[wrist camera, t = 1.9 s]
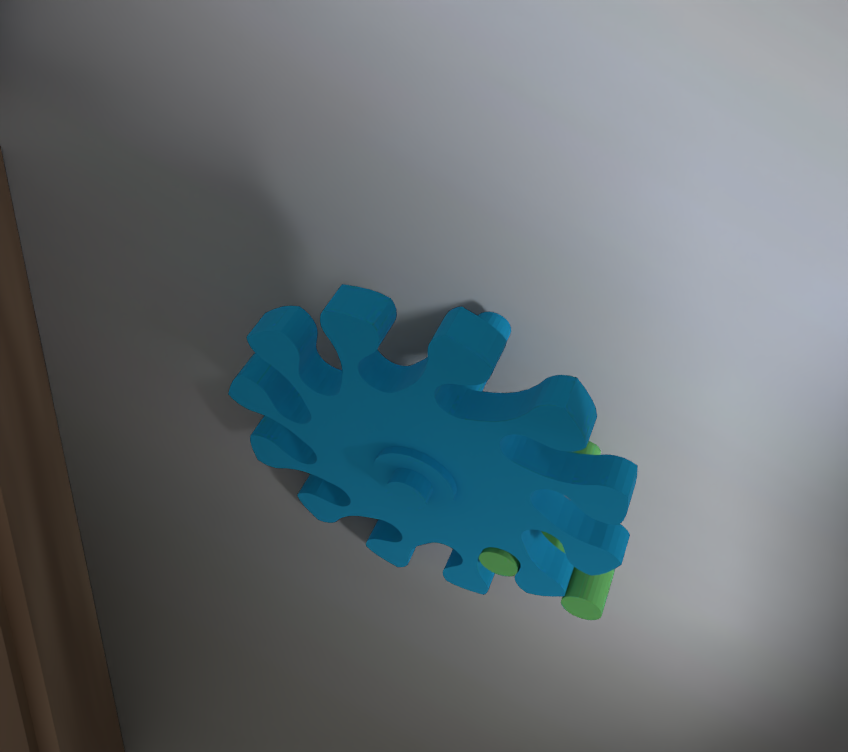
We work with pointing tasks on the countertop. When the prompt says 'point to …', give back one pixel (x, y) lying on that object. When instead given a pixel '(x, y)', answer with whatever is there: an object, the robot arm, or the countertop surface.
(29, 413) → the walnut plinth
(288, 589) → the countertop surface
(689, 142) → the countertop surface
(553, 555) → the gear
